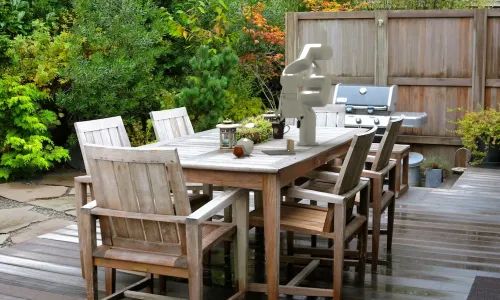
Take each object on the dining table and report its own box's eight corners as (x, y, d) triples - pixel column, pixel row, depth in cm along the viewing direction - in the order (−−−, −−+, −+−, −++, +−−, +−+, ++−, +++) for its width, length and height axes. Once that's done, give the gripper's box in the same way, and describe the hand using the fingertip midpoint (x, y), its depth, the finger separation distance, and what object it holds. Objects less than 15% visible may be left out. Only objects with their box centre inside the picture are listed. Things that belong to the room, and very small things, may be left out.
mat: (261, 151, 388) (261, 150, 388) (286, 150, 392) (286, 149, 392) (270, 155, 373) (270, 154, 373) (295, 154, 376) (295, 153, 376)
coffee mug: (268, 138, 451) (268, 122, 450) (279, 137, 456) (279, 121, 455) (280, 140, 442) (280, 124, 440) (290, 139, 447) (290, 123, 445)
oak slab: (286, 149, 395) (286, 139, 395) (290, 149, 396) (290, 139, 395) (290, 151, 389) (290, 140, 388) (294, 151, 389) (294, 140, 388)
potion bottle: (250, 157, 378) (241, 164, 364) (235, 146, 379) (226, 153, 365) (259, 143, 374) (251, 150, 360) (244, 132, 375) (235, 138, 362)
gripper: (277, 97, 382) (276, 129, 384) (307, 97, 387) (307, 128, 389) (273, 96, 390) (272, 128, 391) (303, 96, 394) (302, 127, 396)
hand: (289, 128), depth 390 cm, fingers open, 9 cm apart
